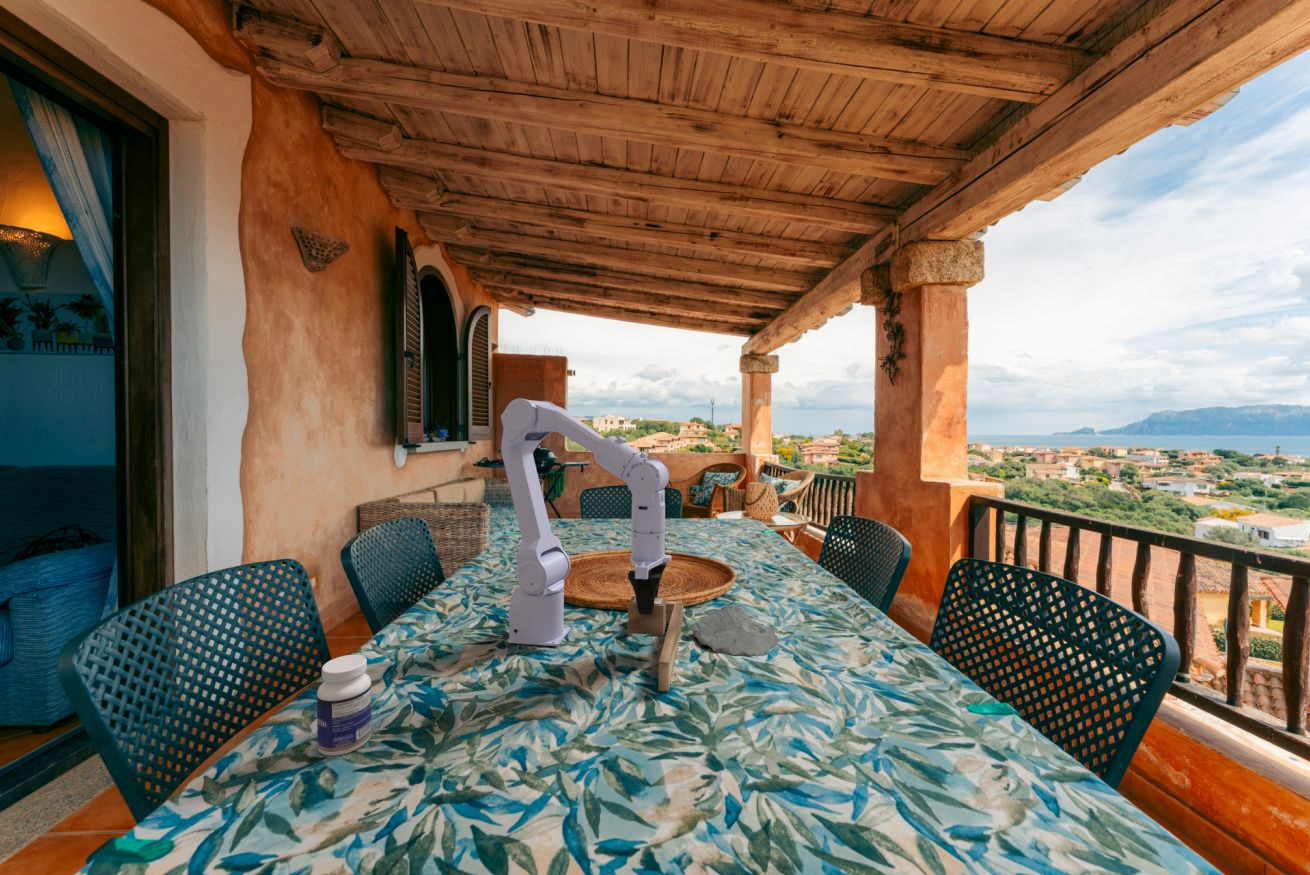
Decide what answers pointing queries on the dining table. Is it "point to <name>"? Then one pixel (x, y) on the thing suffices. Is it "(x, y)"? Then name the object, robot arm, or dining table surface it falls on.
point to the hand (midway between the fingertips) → (647, 608)
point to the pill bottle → (344, 706)
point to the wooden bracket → (669, 643)
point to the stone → (734, 633)
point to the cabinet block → (647, 618)
